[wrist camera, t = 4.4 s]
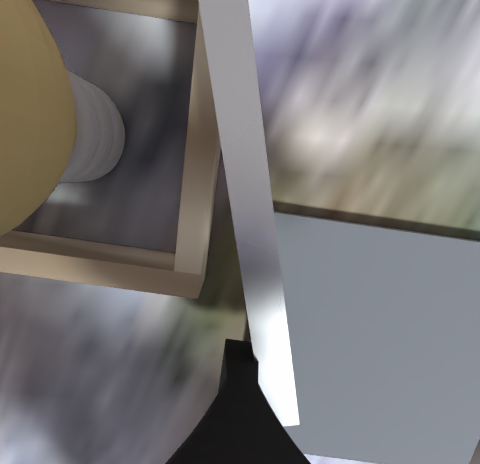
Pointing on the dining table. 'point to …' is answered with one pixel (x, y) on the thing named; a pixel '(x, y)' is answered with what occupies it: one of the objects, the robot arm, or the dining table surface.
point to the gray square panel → (382, 340)
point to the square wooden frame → (191, 205)
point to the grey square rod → (250, 195)
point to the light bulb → (46, 118)
